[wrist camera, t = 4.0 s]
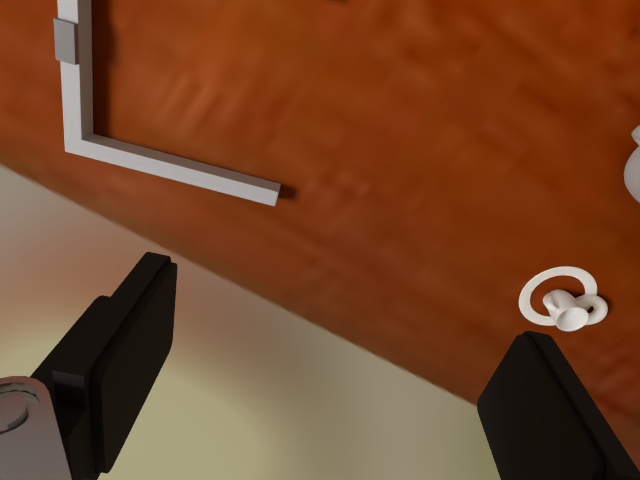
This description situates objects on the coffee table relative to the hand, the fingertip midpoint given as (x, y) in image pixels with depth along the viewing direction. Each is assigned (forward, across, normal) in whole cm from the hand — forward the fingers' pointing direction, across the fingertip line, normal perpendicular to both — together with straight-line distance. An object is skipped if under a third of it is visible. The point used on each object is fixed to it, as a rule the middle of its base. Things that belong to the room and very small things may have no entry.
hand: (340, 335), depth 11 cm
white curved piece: (+30, -29, +17) cm, 45 cm away
